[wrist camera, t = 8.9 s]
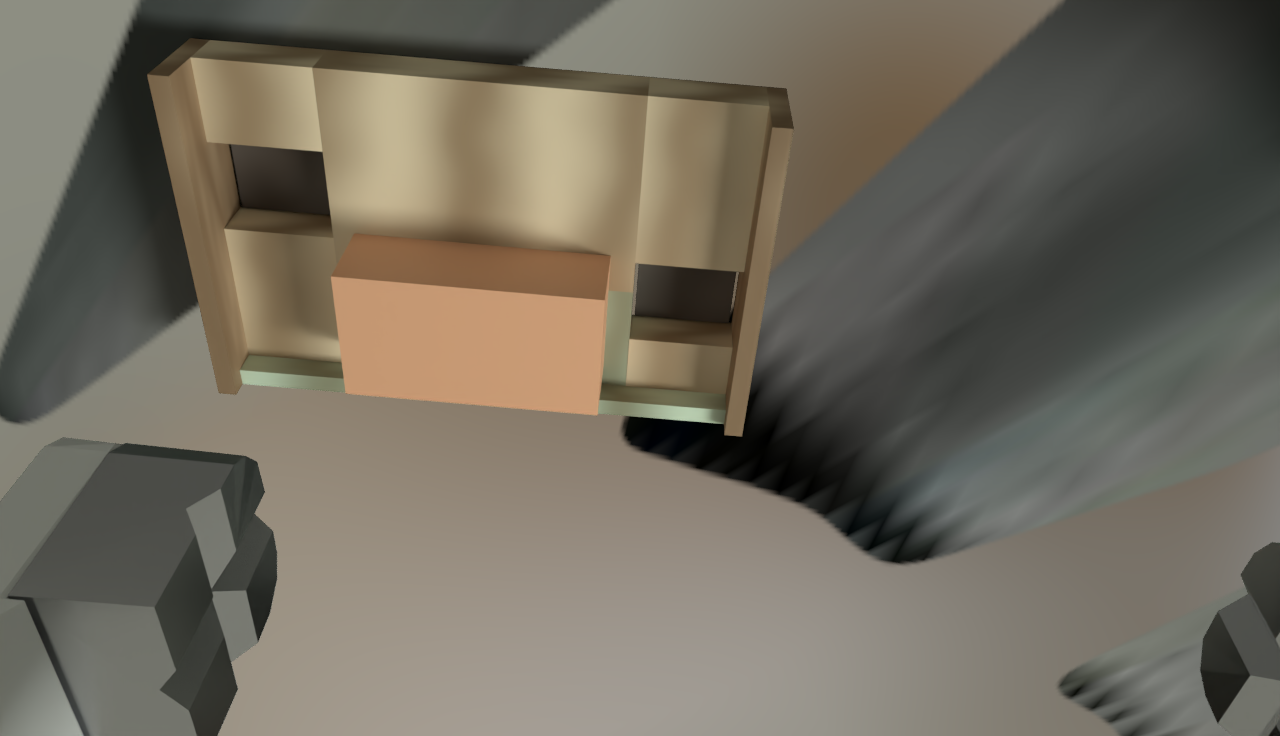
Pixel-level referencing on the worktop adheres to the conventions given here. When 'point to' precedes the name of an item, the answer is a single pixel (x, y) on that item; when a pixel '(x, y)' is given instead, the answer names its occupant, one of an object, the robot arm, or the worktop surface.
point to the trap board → (476, 202)
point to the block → (472, 323)
